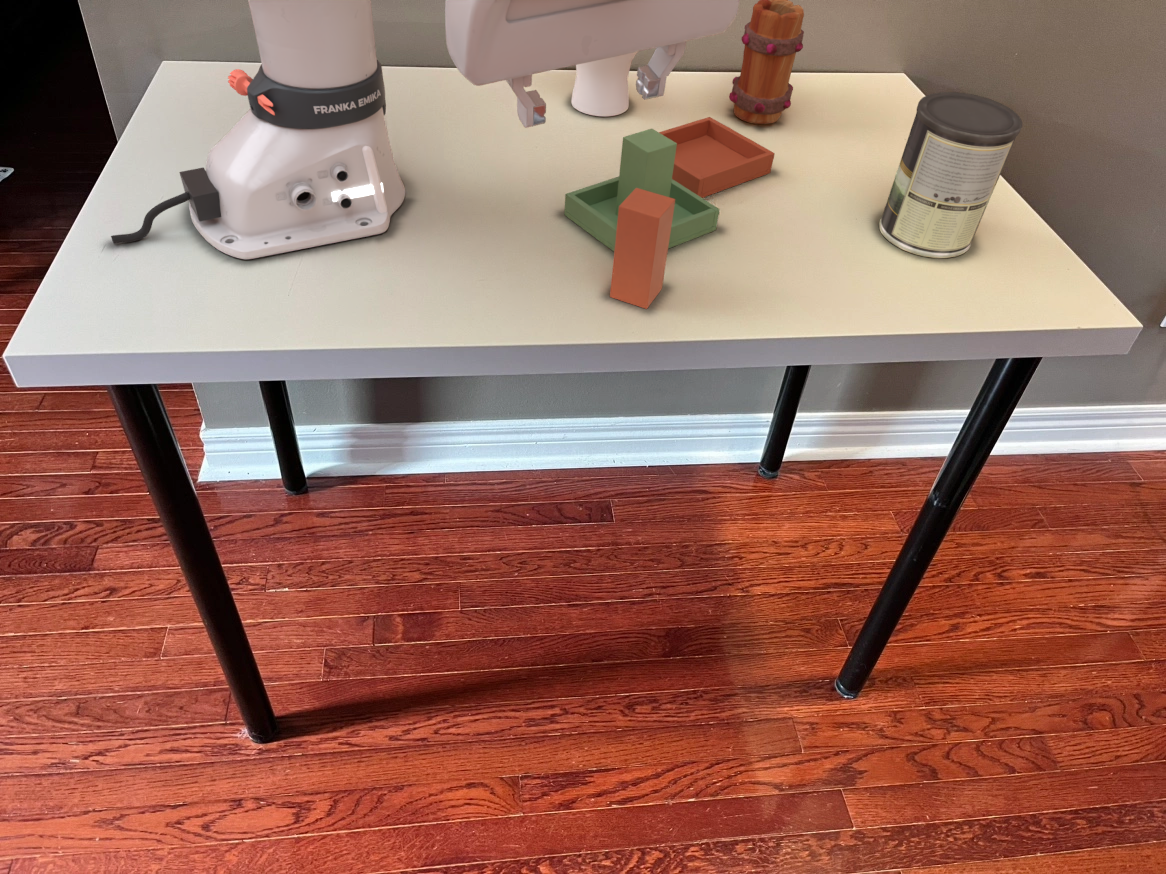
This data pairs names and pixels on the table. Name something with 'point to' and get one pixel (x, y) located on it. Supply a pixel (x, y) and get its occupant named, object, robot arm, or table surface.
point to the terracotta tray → (715, 157)
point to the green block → (646, 164)
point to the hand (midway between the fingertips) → (591, 107)
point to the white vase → (603, 86)
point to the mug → (768, 61)
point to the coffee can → (948, 173)
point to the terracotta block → (641, 247)
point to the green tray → (600, 220)
